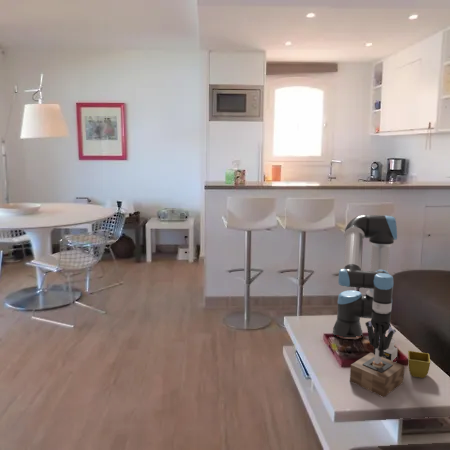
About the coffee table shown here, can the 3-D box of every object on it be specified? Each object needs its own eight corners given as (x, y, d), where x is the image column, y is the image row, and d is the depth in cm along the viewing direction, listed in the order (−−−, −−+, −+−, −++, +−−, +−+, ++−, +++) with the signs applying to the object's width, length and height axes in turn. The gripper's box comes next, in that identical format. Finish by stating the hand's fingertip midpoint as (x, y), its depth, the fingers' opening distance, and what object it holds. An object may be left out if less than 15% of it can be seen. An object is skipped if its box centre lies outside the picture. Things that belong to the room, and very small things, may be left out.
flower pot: (406, 377, 200) (408, 359, 198) (406, 368, 208) (408, 350, 206) (428, 381, 197) (430, 362, 195) (427, 371, 205) (429, 353, 203)
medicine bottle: (375, 362, 213) (377, 338, 211) (382, 356, 219) (383, 333, 216) (390, 367, 209) (392, 343, 206) (396, 361, 214) (398, 338, 211)
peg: (374, 376, 199) (375, 359, 198) (383, 379, 196) (384, 362, 195) (369, 379, 197) (371, 362, 195) (378, 383, 194) (379, 366, 192)
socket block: (369, 368, 208) (370, 351, 206) (402, 382, 196) (404, 365, 195) (349, 381, 198) (350, 363, 196) (383, 397, 186) (385, 378, 184)
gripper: (362, 308, 192) (359, 359, 197) (391, 317, 183) (387, 371, 188) (372, 303, 197) (368, 353, 202) (400, 312, 188) (396, 365, 193)
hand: (377, 362), depth 195 cm, fingers closed
